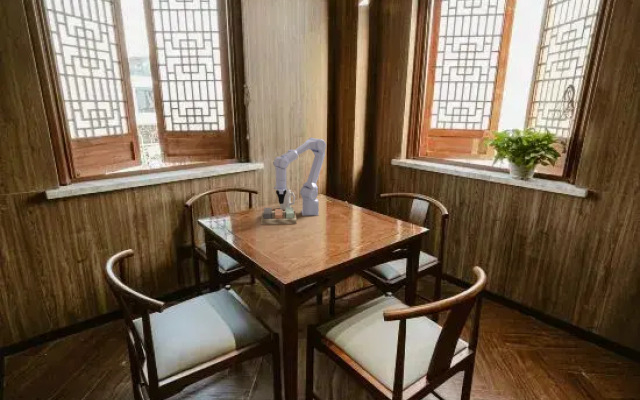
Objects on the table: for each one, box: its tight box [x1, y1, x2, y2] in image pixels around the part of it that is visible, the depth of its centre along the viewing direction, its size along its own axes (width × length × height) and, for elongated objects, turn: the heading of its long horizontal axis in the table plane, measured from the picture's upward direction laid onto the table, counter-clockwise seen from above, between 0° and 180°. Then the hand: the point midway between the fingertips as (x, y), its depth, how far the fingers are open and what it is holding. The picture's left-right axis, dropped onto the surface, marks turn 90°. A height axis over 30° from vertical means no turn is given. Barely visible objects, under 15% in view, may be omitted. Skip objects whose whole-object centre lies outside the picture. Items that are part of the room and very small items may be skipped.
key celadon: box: [285, 206, 294, 219], centre depth 194 cm, size 4×11×4 cm, turn 7°
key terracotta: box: [274, 208, 283, 219], centre depth 194 cm, size 4×11×4 cm, turn 7°
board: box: [260, 210, 297, 225], centre depth 194 cm, size 19×15×2 cm
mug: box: [279, 187, 296, 211], centre depth 212 cm, size 10×7×12 cm, turn 69°
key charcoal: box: [263, 207, 273, 219], centre depth 193 cm, size 4×11×4 cm, turn 7°
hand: (281, 203), depth 192 cm, fingers closed
